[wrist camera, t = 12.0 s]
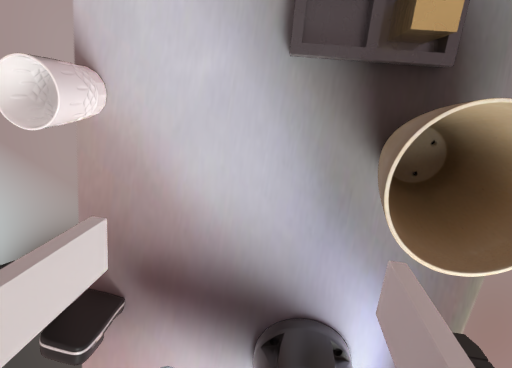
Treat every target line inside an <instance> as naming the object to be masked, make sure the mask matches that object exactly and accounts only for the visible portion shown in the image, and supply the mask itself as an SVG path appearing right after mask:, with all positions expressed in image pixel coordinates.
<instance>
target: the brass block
mask: <svg viewBox="0 0 512 368" xmlns="http://www.w3.org/2000/svg"><path fill="white" fill-rule="evenodd" d="M464 1H465V0H397V1H396V2H395V5H394V10H393V16H392V21H391V27H390V32H389V38H388V41H394V42H408V43H423V44H424V43H427V42H430V41H433V40H436V39H439V38H441V37H444V36H447V35H450V34H453V33H456V32H457V30H458V25H459V21H460V17H461V13H462V9H463V5H464Z"/></svg>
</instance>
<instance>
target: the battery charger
mask: <svg viewBox="0 0 512 368" xmlns="http://www.w3.org/2000/svg"><path fill="white" fill-rule="evenodd" d="M124 304H125V301H124V298H121V297H118V296H115V295H111V294H108V293H104V292H100V291H95V290H91V289H87V290H86V291H85V292H84V293H83V294H82V295H81V296H80V297H79V298H78V299H77V300H76V301H74V302H73V303H72V304H71V305H70V306H69V307H67V308H66V309H65V310H64V311H63V312H62V313H60V314H59V315H58V316H57V317H56V318H55V319H54V320H53V321H52V322H51V323H50V324H49V325H48V326H47V327H46V328H45V329H44V330H43V332H42V333H41V336H40V339H39V342H40V351H41V354H42V355H43V356H44V357H45V358H48V359H51V360H55V361H58V362H62V363H66V364H70V365H79V364H82V363H84V362H85V361H86V360H87V359H88V358H89V357H90V356H91V355H92V354H93V352H94V351H95V350H96V349H97V348H98V346H99V345H100V344H101V342H102V341H103V338H104V333H105V331H106V330H107V329H108V327H109V326H110V324H111V323H112V321H113V320H114V319H115V317H116V316H117V315H119V314H120V313H121V312H122V310H123V308H124Z"/></svg>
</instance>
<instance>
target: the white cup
mask: <svg viewBox="0 0 512 368" xmlns="http://www.w3.org/2000/svg"><path fill="white" fill-rule="evenodd" d="M106 97H107V93H106V89H105V85H104V82H103V81H102V79H101V78H100V77H99V75H98V74H97V73H96V72H95V71H93V70H91V69H90V68H88V67H86V66H80V65H75V64H72V63H69V62H65V61H60V60H56V59H50V58H45V57H39V56H33V55H29V54H23V53H13V54H9V55H6V56H5V57H3V58H1V59H0V112H1V113H2V115H3V116H4V117H5V118H6V119H7V120H8V121H10V122H11V123H12V124H14V125H16V126H17V127H20V128H22V129H26V130H39V129H44V128H48V127H53V126H58V125H63V124H67V123H71V122H75V121H79V120H82V119H85V118H90V117H92V116H95V115H97V114H99V113H100V111H101V110H102V109H103V108H104V106H105V103H106Z"/></svg>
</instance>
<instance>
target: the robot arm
mask: <svg viewBox="0 0 512 368" xmlns="http://www.w3.org/2000/svg"><path fill="white" fill-rule="evenodd" d="M107 270H108V248H107V218H102V217H96V216H91V217H89V218H87V219H86V220H84V221H82V222H80V223H79V224H77V225H75V226H74V227H72V228H70V229H69V230H67V231H65V232H63V233H62V234H60V235H58V236H57V237H55V238H53V239H52V240H50V241H48V242H46V243H45V244H43V245H42V246H40V247H38V248H36V249H35V250H33V251H31V252H30V253H28V254H26V255H24V256H23V257H21V258H19V259H17V260H16V261H12V262H9V263H6V264H3V265H0V368H2V367H3V366H4V365H5V364H6V363H7V362H8V361H9V360H10V359H11V358H12V357H14V356H15V355H16V354H17V353H18V352H19V351H20V350H21V349H22V348H23V347H24V346H25V345H26V344H28V343H29V342H30V341H31V340H32V339H33V338H34V337H35V336H36V335H37V334H38V333H39V332H41V331H42V330H43V329H44V328H45V327H46V326H47V325H48V324H49V323H50V322H51V321H53V320H54V319H55V318H56V317H57V316H58V315H59V314H60V313H61V312H62V311H63V310H64V309H66V308H67V307H68V306H69V305H70V304H71V303H72V302H73V301H74V300H75V299H76V298H77V297H79V296H80V295H81V294H82V293H83V292H84V291H85V290H86V289H87V288H88V287H89V286H91V285H92V284H93V283H94V282H95V281H96V280H97V279H98V278H99V277H100V276H101V275H102V274H104V273H105V272H106V271H107ZM376 316H377V318H378V321H379V324H380V326H381V329H382V332H383V335H384V337H385V340H386V343H387V346H388V348H389V351H390V354H391V357H392V359H393V362H394V365H395V367H396V368H494V367H493V366H492V364H491V363H490V362H488V359H487V357H486V356H485V355H484V353H483V352H482V350H481V349H480V348H479V346H477V345H476V344H475V343H474V342H473V341H472V340H470V339H469V338H468V337H467V336H466V335H464V334H459V333H452V332H451V330H450V329H449V327H448V326H447V324H446V323H445V321H444V319H443V318H442V316H441V315H440V313H439V312H438V310H437V309H436V307H435V306H434V304H433V303H432V301H431V300H430V298H429V297H428V295H427V294H426V292H425V291H424V289H423V288H422V286H421V285H420V283H419V282H418V280H417V279H416V277H415V276H414V274H413V272H412V271H411V269H410V268H409V266H408V265H407V263H401V262H394V261H388V265H387V270H386V274H385V278H384V282H383V286H382V290H381V294H380V298H379V302H378V307H377V311H376ZM161 368H173V367H169V366H165V367H161ZM253 368H352V362H351V357H350V352H349V349H348V347H347V345H346V343H345V341H344V340H343V338H342V337H341V336H340V335H339V334H338V333H337V332H336V331H334V330H333V329H332V328H330V327H328V326H327V325H325V324H322V323H320V322H317V321H314V320H309V319H288V320H284V321H281V322H278V323H276V324H274V325H272V326H270V327H269V328H268V329H266V330H265V331H264V332H263V333H262V334H261V336H260V337H259V339H258V341H257V343H256V346H255V351H254V357H253Z"/></svg>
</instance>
